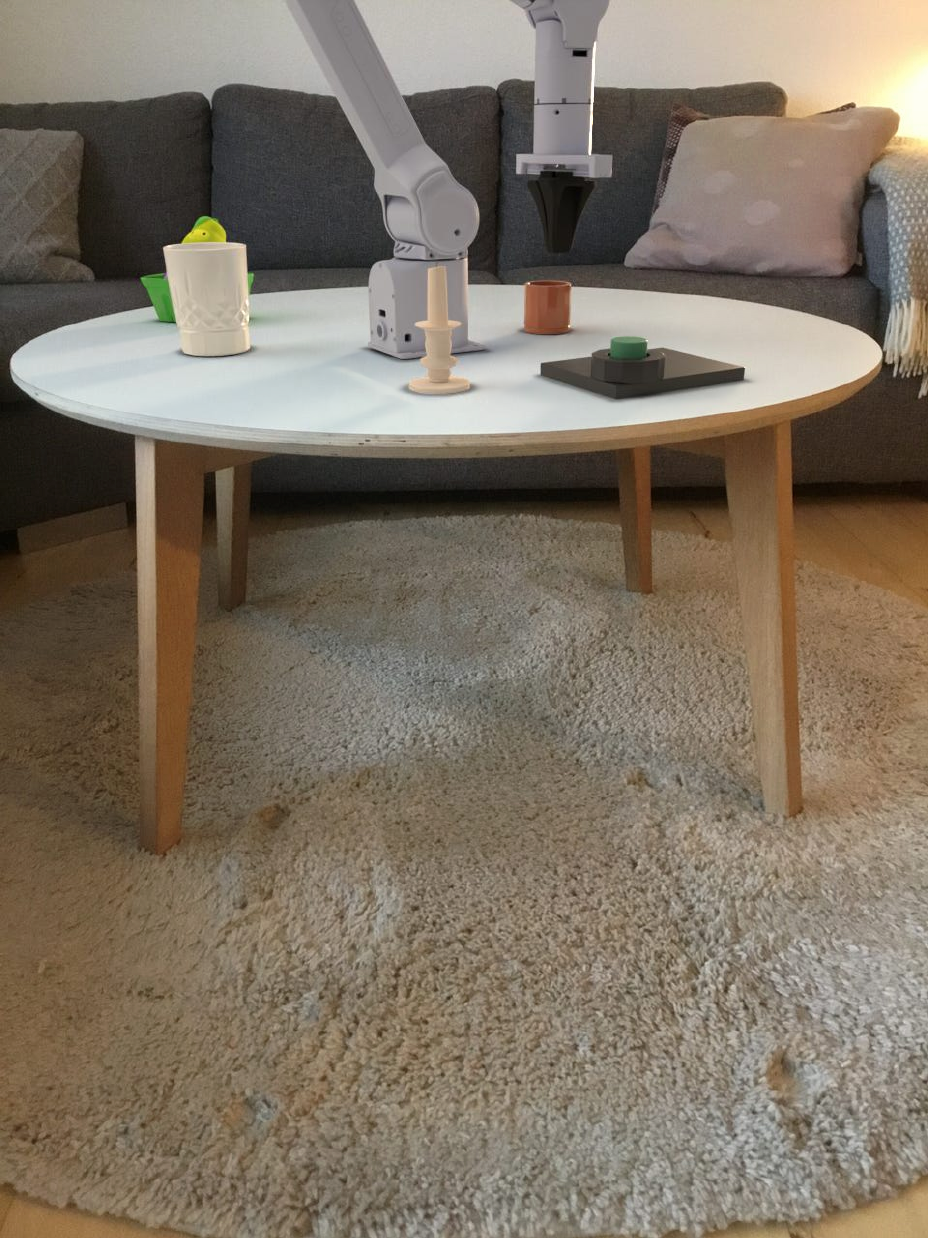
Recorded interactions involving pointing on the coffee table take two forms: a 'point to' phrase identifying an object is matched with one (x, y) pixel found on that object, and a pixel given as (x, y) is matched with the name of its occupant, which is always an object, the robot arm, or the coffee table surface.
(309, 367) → the coffee table surface
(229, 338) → the white cup
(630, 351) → the button
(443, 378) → the candle
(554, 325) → the terracotta pot
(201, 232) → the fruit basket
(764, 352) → the coffee table surface
